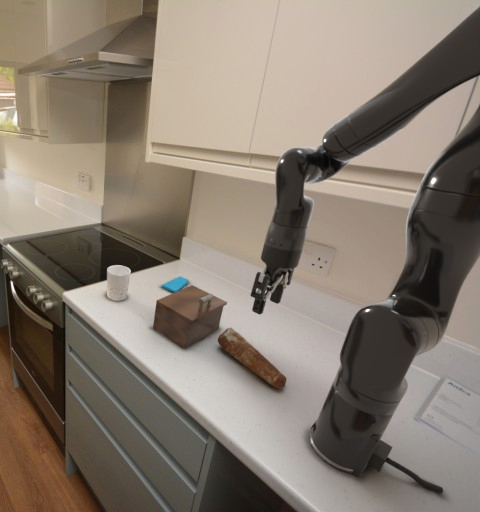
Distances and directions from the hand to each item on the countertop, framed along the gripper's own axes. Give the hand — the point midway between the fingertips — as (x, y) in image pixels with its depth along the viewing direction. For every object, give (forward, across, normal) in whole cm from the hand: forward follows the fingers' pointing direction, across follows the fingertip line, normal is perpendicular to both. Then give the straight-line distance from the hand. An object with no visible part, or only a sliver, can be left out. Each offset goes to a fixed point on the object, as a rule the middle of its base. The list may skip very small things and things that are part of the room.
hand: (266, 307), depth 80 cm
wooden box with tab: (+9, 0, +20) cm, 22 cm away
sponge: (+18, +20, +40) cm, 48 cm away
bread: (+18, +1, 0) cm, 18 cm away
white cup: (+18, -4, +46) cm, 50 cm away
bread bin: (+18, 0, +20) cm, 27 cm away
